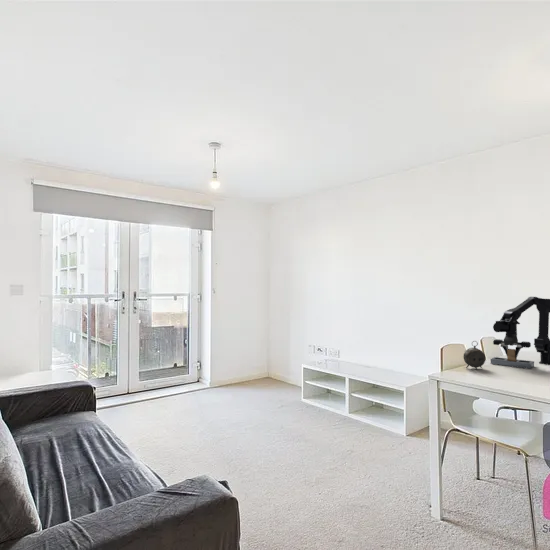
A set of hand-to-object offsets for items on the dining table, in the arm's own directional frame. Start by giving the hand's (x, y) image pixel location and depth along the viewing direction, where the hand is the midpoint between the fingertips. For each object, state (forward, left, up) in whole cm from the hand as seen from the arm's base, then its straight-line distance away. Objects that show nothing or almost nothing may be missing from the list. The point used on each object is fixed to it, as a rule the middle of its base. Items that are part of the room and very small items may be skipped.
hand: (511, 357), depth 234 cm
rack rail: (0, 0, -4) cm, 4 cm away
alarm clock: (+26, -13, -5) cm, 30 cm away
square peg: (0, 0, -3) cm, 3 cm away
